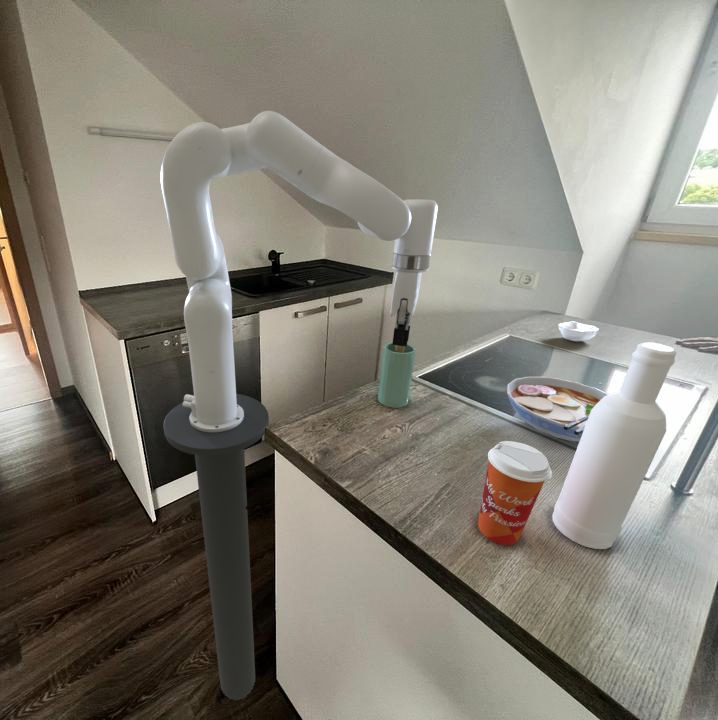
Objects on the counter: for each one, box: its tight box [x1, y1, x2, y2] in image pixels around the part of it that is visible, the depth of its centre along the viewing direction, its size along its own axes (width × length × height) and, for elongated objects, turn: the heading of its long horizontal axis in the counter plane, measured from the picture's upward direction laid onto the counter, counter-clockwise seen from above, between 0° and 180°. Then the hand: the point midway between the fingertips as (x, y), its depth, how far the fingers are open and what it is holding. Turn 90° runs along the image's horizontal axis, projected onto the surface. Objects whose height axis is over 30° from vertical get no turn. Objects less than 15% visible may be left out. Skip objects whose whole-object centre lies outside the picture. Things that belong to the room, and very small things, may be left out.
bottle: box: [552, 341, 677, 550], centre depth 53 cm, size 8×8×30 cm
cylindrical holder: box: [377, 341, 417, 409], centre depth 93 cm, size 7×7×14 cm
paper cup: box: [477, 440, 553, 546], centre depth 56 cm, size 8×8×14 cm
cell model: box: [557, 320, 599, 342], centre depth 134 cm, size 10×12×7 cm
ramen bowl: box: [506, 376, 610, 443], centre depth 82 cm, size 25×23×8 cm
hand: (400, 342), depth 89 cm, fingers closed
